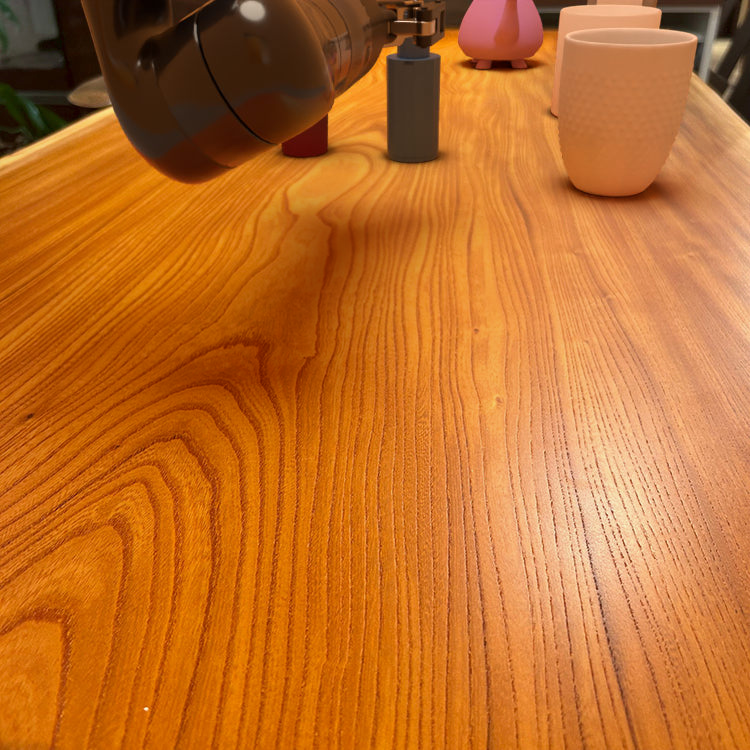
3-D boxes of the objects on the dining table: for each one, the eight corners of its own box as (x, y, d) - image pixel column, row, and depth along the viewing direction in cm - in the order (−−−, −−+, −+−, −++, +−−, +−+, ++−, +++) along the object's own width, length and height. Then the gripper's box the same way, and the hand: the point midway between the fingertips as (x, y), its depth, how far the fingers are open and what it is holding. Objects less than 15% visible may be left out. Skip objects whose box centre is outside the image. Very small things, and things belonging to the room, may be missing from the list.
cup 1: (297, 163, 81) (286, 5, 74) (262, 150, 86) (248, 1, 78) (348, 151, 85) (343, 0, 77) (312, 139, 90) (303, -4, 82)
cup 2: (532, 109, 101) (540, 8, 95) (601, 100, 105) (613, 2, 99) (592, 128, 92) (606, 17, 86) (665, 116, 96) (683, 10, 90)
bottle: (383, 161, 81) (381, 15, 74) (392, 148, 86) (392, 9, 79) (434, 163, 80) (437, 15, 73) (441, 150, 85) (444, 9, 78)
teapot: (553, 74, 122) (561, -14, 116) (463, 76, 122) (466, -12, 116) (531, 54, 139) (537, -23, 133) (452, 56, 139) (455, -22, 133)
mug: (540, 158, 81) (553, 22, 74) (648, 159, 80) (671, 21, 73) (555, 204, 68) (572, 45, 62) (684, 206, 67) (715, 44, 61)
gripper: (423, -25, 48) (455, -40, 62) (208, -25, 51) (284, -40, 64) (421, 101, 52) (451, 60, 66) (221, 94, 55) (290, 57, 68)
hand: (368, 11), depth 65 cm, fingers open, 8 cm apart
